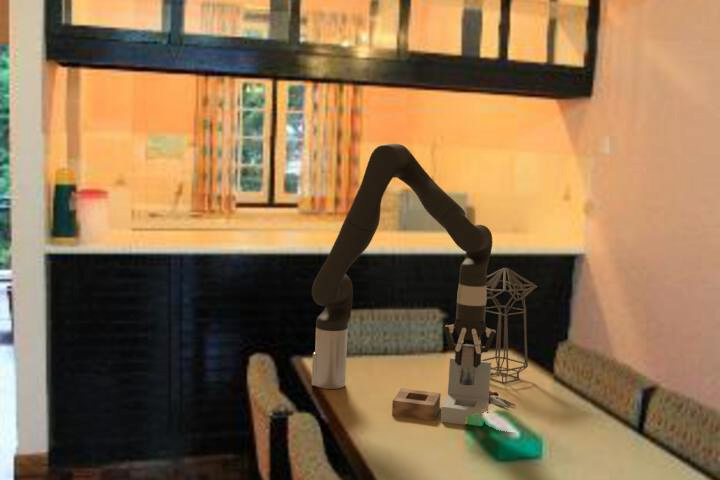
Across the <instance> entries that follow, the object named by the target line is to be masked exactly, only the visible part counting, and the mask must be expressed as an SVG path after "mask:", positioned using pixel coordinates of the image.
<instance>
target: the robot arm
mask: <svg viewBox="0 0 720 480" xmlns="http://www.w3.org/2000/svg"><path fill="white" fill-rule="evenodd" d="M393 178H394V179H396V178H397V179H399V180H400V181H402V183H404V184H406V185H407V186H408V187H410V189H412V191H413V192H414V193H415V195H416V196H417V198H418V200H419V202H420V203H421V205H422V206H423V209H424V210H426V212H427V213H428V214H429V215H430V216H431V217H432V218H433V219H434V220H435V221H436V222H437V224H439V225H440V226H441V227H443V228H444V229H445V230H446V232H447V234H448V235H449V237H450V238H451V239H452V241H453V242H454V243H455V244H456V246H457V247H458V248H460V249H461V250H462V251H463V252H465V257H464V260H463V261H462V263H461V265H460V267H459V279H458V289H457V296H456V297H457V298H456V314H455V321H454V323H453V324H445V326H444V327H443V330H444V335H445V338H446V339H445V340H446V341H447V345H448V348H449V349H452V350H454V353H455V355H454V358H455V363H457V365H459V366H460V356H461V345H462V344H464V341H468V340H469V341H471V342H473V345H475V348H476V354H475V367H476V368H477V367H478V366H479V365H480V363H481V360H482V354H483V353H488V351H489V350H490V347H491V345H492V342H493V340H494V337H495V335H496V334H497V330H496V329H494V328H493V329H491V328H490V327H489V328H488V327H487V324H486V310H487V309H486V308H487V301H488V299H487V298H486V297H488V296H487V295H488V294H487V292H488V291H487V290H486V283H487V280H488V278H487V276H488V266H489V263H490V262H489V261H490V258H491V254H492V249H493V235H492V231H491V230H490V229H489V228H488V227H487V226H486V225H483V224H475V225H474V224H473V223H472V222H471V221H470V220H469V218H467V217H466V211H465V210H464V208H462V206H461V205H459V203H457V202H456V200H454V199H453V198H452V197H451V196H450V195H448V193H446V191H444V190H443V189H442V187H440V186H439V185H438V184H437V183H436V182H435V181H434V179H433V178H432V177H431V176H430V175H429V174H428V172H426V170H425V169H424V168H423V167H422V165H421V164H420V163H419V161H417V159H416V157H415V156H414V155H413V154H412V152H411V151H410V150H409V149H408V148H407V147H406V146H405V145H403V144H400V143H383V144H380V145H378V146H376V147H375V149H373V151H372V153H371V154H370V156H369V160H368V162H367V165H366V169H365V171H364V174H363V177H362V180H361V183H360V185H359V188H358V191H357V193H356V194H355V197H354V199H353V201H352V204H351V206H350V208H349V210H348V212H347V214H346V216H345V219H344V221H343V223H342V224H341V227H340V230H339V232H338V235H337V237H336V239H335V241H334V244H333V246H332V247H331V250H330V252H329V254H328V256H327V257H326V260H325V262H324V263H323V264H322V266H321V269H320V270H319V271H318V273H317V275H316V277H315V279H314V280H313V284H312V287H311V296H312V299H313V301H314V302H315V304H317V305H318V306H321V307H324V309H323V310H322V312H320V314H319V315H318V316H317V317H316V320H315V345H314V346H315V348H314V349H315V350H314V352H313V353H312V361H311V362H312V364H311V386H314V387H317V388H319V389H325V390H327V389H328V390H335V389H337V390H338V389H342V388H344V387H345V386H346V379H347V378H346V371H347V370H346V369H347V353H348V351H347V349H348V348H347V347H348V330H349V329H348V325H349V324H348V323H349V322H350V319H351V316H352V308H353V299H354V298H353V295H354V294H353V293H354V290H353V289H354V288H353V283H352V280H351V278H350V277H349V276H348V275H347V272H348V270H349V268H350V267H351V266H352V265H353V264H354V263H355V262H356V260H357V259H358V258H359V257H360V256H361V255H362V254H363V253H364V252H365V251H366V249H367V248H368V247H369V245H370V243H371V242H372V240H373V238H374V236H375V234H376V232H377V229H378V227H379V224H380V221H381V220H380V219H381V205H382V199H383V197H384V194H385V193H386V190H387V188H388V186H389V184H390V182H391V181H392V180H393ZM454 329H455V331H456V333H457V335H458V340H457V342H456V343H457V344H456V343H455V341H454V338H453V332H454ZM484 333H486V337H487V340H486V343H485V344H484V346H482V341H481V336H482V335H483V334H484Z"/></svg>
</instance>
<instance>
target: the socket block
mask: <svg viewBox="0 0 720 480" xmlns="http://www.w3.org/2000/svg"><path fill="white" fill-rule="evenodd" d="M391 404H392V405H391V416H398V417H405V418H411V419H419V420H425V421H434V419H435V418H436V416H437V414H438V412H439V410H440V408H441V393H440V392H433V391H425V390H417V389H409V388H402V387H401V388H400V389H399V391H398V392H397V394H396V395H395V397H394V398H393V399H392V403H391Z"/></svg>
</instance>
